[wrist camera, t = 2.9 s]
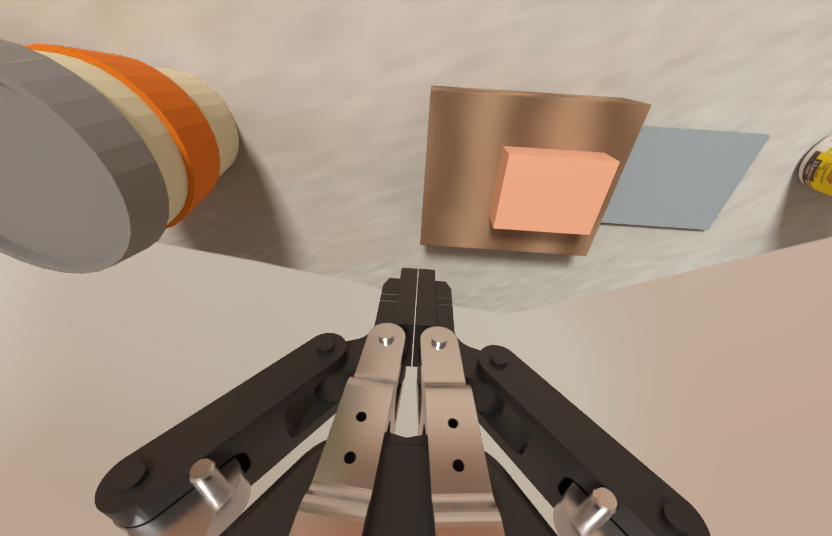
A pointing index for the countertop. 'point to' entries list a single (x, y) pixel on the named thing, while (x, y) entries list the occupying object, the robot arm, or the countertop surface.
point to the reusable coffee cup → (101, 154)
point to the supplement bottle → (818, 167)
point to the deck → (481, 152)
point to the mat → (681, 176)
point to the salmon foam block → (550, 189)
